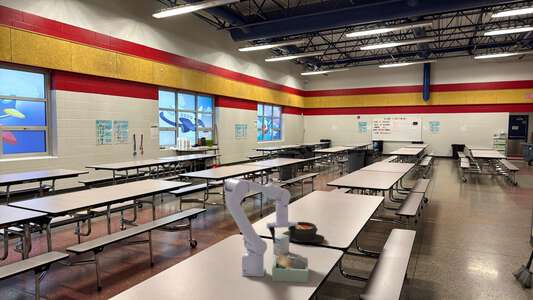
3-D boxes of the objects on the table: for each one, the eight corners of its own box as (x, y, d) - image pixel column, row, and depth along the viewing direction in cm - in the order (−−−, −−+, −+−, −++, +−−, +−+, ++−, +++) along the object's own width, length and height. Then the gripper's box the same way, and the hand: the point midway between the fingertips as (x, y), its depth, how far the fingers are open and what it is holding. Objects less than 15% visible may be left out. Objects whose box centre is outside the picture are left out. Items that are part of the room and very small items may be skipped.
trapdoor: (274, 266, 137) (277, 261, 136) (276, 256, 148) (279, 251, 147) (298, 282, 136) (302, 277, 136) (298, 271, 147) (301, 266, 147)
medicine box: (282, 249, 171) (282, 233, 170) (289, 251, 168) (289, 235, 167) (273, 254, 165) (273, 237, 164) (280, 256, 162) (280, 239, 161)
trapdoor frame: (272, 280, 136) (272, 267, 135) (274, 266, 150) (274, 254, 149) (308, 282, 134) (308, 269, 134) (307, 268, 148) (307, 256, 148)
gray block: (291, 267, 139) (297, 258, 139) (291, 263, 144) (297, 253, 143) (300, 273, 139) (306, 263, 138) (300, 268, 143) (306, 259, 143)
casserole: (328, 237, 190) (328, 223, 189) (318, 248, 173) (319, 232, 173) (288, 232, 201) (288, 218, 200) (276, 241, 184) (276, 226, 184)
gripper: (267, 216, 146) (267, 246, 147) (299, 215, 148) (299, 244, 148) (265, 212, 153) (266, 241, 154) (296, 211, 155) (296, 239, 155)
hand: (282, 242), depth 152 cm, fingers open, 7 cm apart
